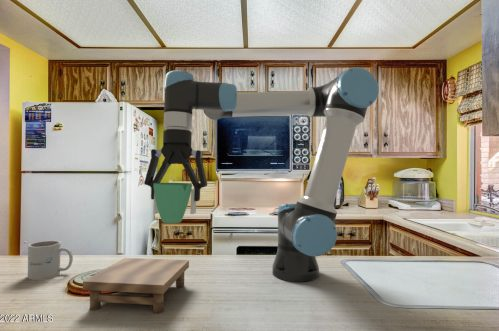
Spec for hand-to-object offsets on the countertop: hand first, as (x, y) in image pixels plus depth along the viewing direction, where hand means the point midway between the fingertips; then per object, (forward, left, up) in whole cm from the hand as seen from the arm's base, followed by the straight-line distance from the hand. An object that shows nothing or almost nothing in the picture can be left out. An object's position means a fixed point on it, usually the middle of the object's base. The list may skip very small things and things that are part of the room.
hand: (174, 212), depth 84 cm
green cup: (0, 0, -2) cm, 2 cm away
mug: (+45, -11, -23) cm, 51 cm away
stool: (+9, +1, -22) cm, 24 cm away
